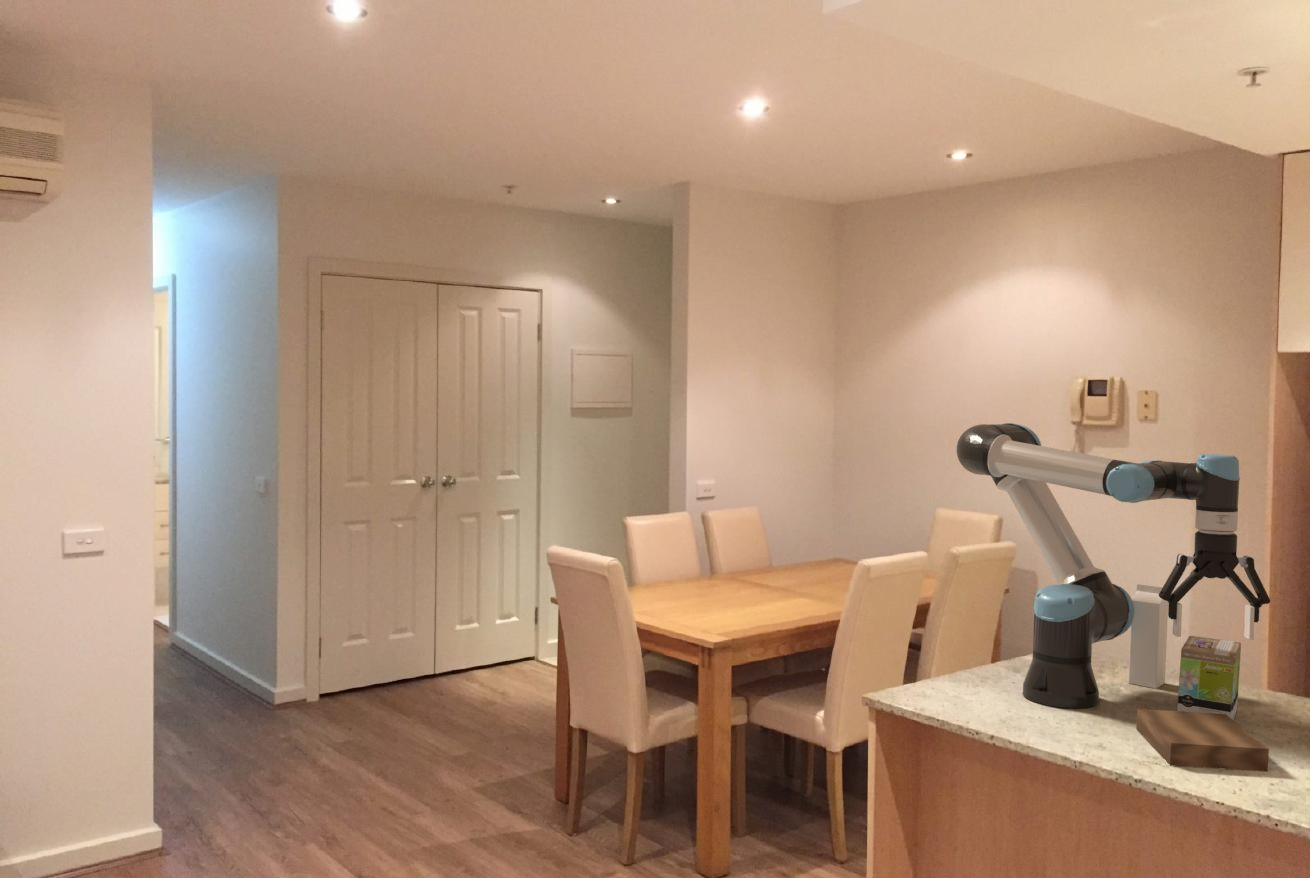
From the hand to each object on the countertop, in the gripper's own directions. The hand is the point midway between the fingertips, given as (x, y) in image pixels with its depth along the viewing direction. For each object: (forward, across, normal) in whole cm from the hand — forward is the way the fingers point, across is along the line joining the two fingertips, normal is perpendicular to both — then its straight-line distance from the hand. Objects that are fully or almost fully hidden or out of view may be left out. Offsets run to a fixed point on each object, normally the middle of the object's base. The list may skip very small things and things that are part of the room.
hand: (1212, 637), depth 218 cm
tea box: (+16, 0, 0) cm, 17 cm away
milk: (+16, -5, +23) cm, 29 cm away
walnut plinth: (+16, -9, -22) cm, 29 cm away
